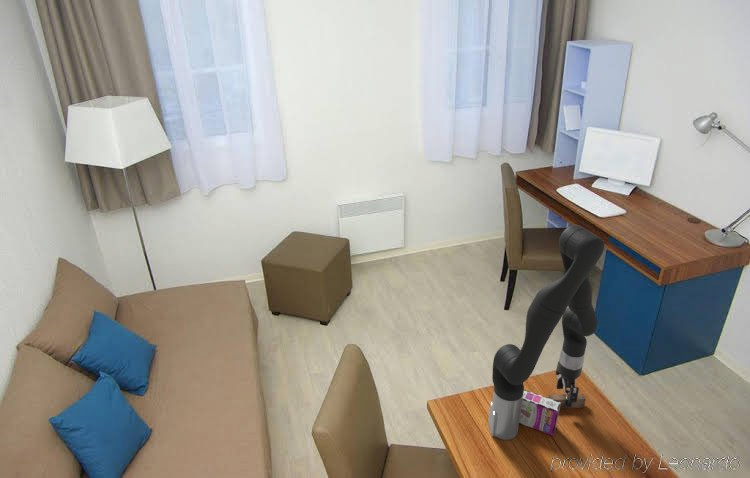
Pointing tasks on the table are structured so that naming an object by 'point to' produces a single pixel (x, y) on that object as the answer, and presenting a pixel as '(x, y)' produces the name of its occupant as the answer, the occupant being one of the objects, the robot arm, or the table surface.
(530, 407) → the candy bar box
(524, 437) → the table surface
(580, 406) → the turner
